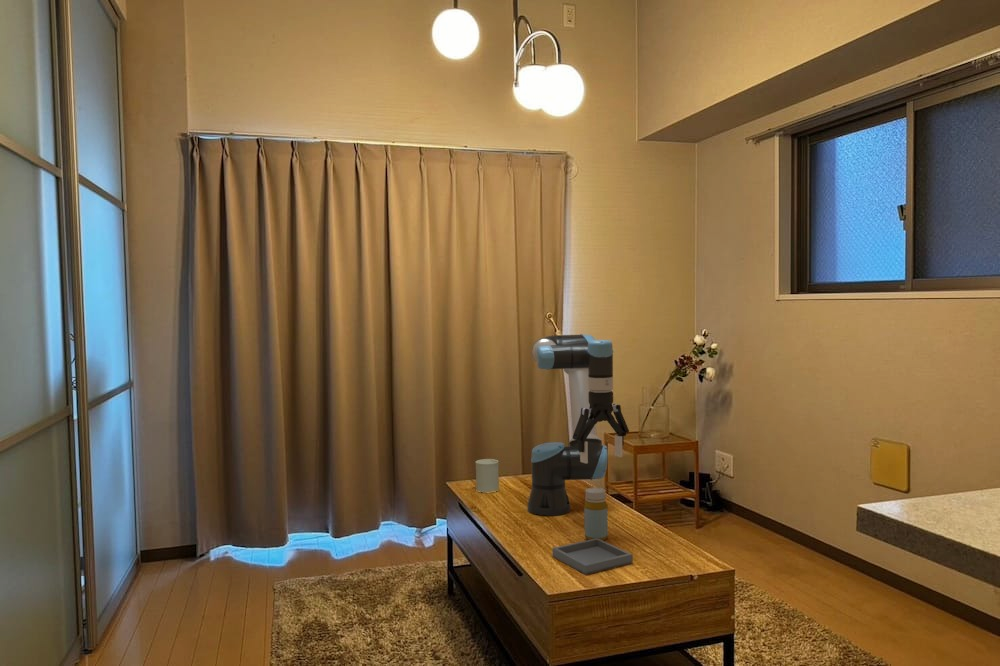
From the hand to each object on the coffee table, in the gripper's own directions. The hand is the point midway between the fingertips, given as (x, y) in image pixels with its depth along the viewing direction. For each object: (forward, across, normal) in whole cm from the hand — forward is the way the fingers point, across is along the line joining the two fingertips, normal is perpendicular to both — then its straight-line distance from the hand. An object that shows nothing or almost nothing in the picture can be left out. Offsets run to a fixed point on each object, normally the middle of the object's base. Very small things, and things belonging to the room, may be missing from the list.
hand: (601, 459), depth 211 cm
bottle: (+25, -2, +1) cm, 25 cm away
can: (+26, -1, +69) cm, 73 cm away
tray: (+24, -14, -13) cm, 31 cm away
